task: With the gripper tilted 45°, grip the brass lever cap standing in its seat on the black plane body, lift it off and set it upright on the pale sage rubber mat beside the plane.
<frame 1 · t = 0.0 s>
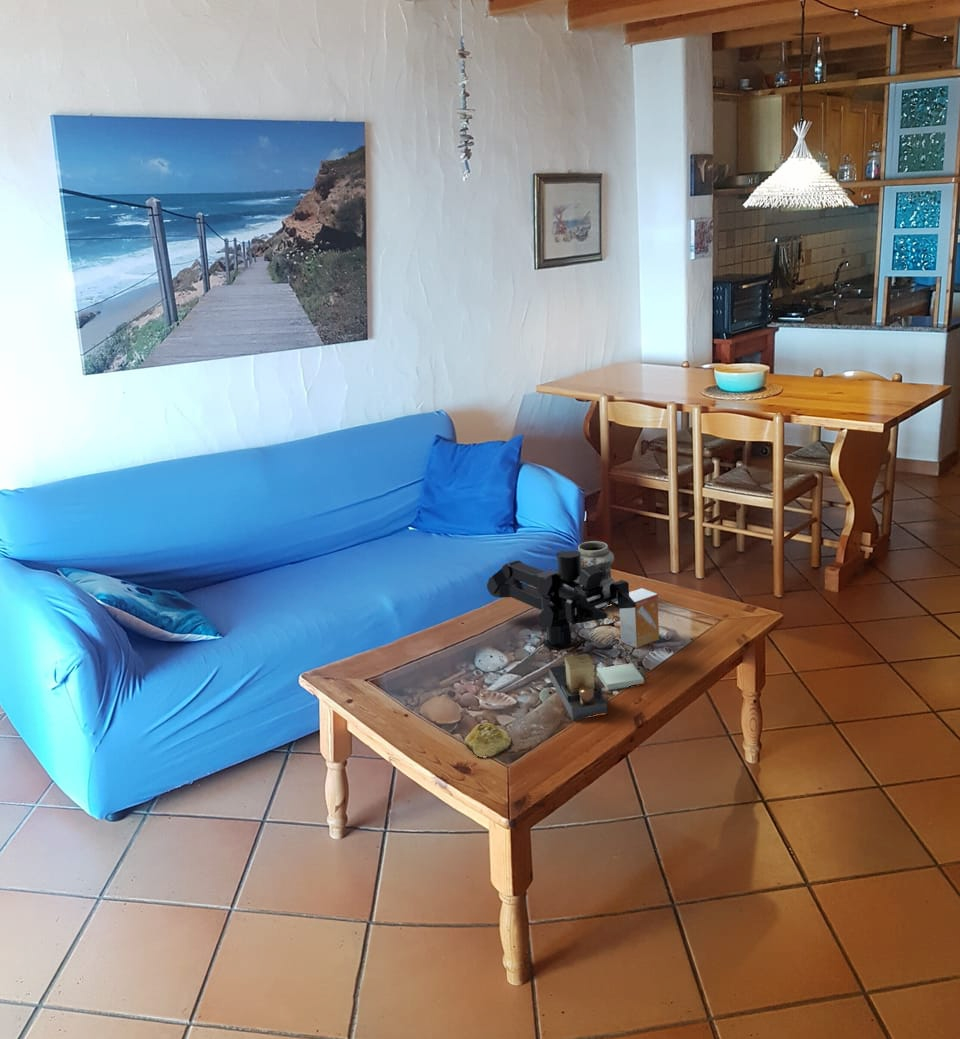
hand: (621, 610, 231), 17 cm above the table, tool horizontal, fingers open, 9 cm apart
plane body: (577, 696, 226), on the table
lever cap: (581, 691, 222), point 3 cm above the table, touching plane body
sage mat: (620, 679, 233), on the table
small box: (640, 641, 253), on the table
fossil: (488, 746, 209), on the table
apothecary jar: (595, 604, 280), on the table
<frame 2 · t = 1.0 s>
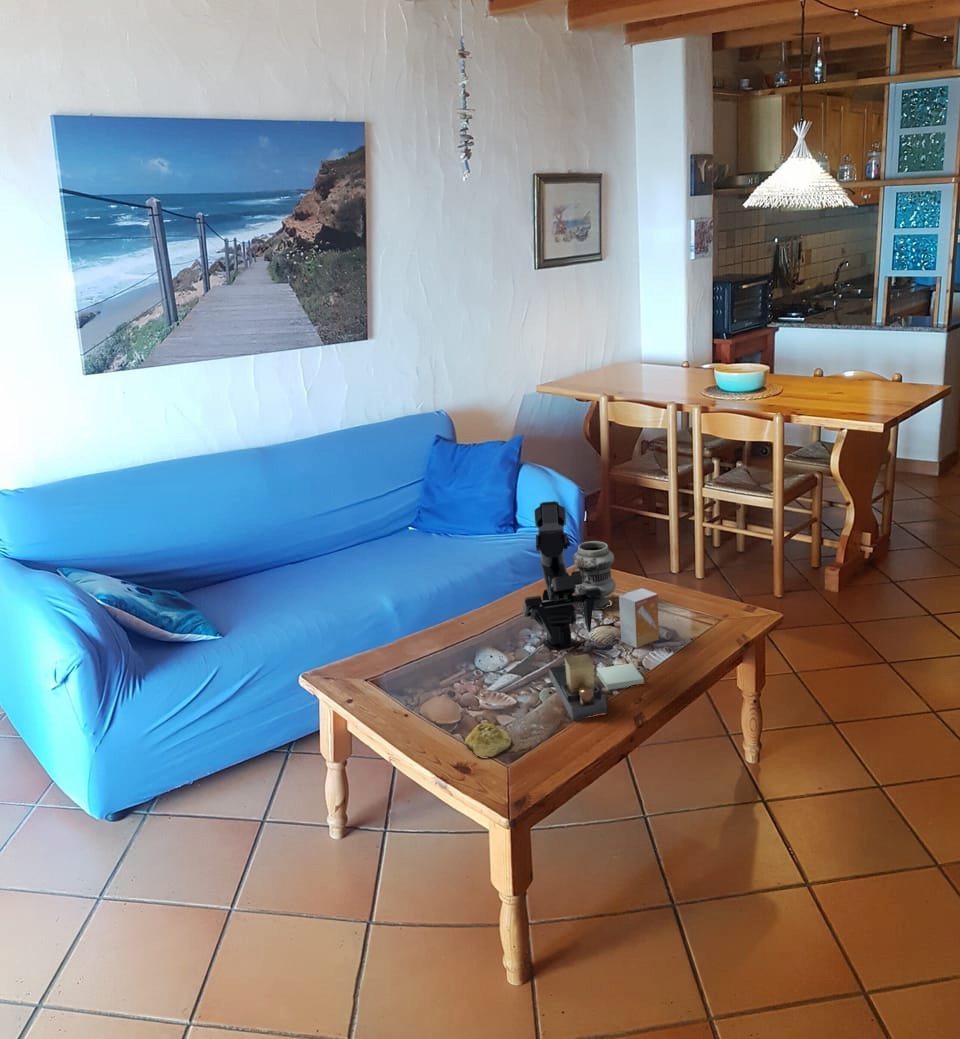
hand: (570, 634, 226), 14 cm above the table, tool tilted 45°, fingers open, 9 cm apart
nothing on the table moved.
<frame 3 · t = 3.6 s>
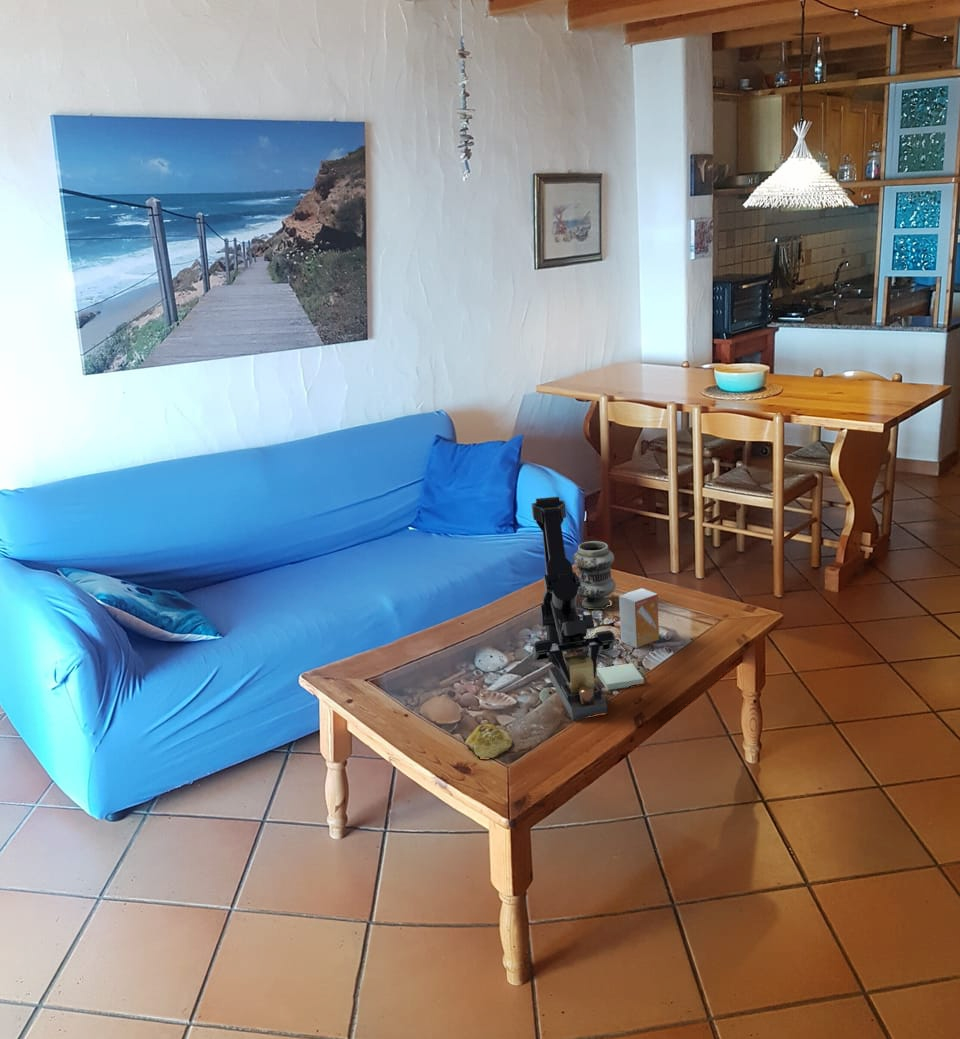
hand: (581, 680, 219), 7 cm above the table, tool tilted 45°, fingers closed on lever cap, 5 cm apart
lever cap: (581, 691, 222), point 3 cm above the table, touching gripper, plane body
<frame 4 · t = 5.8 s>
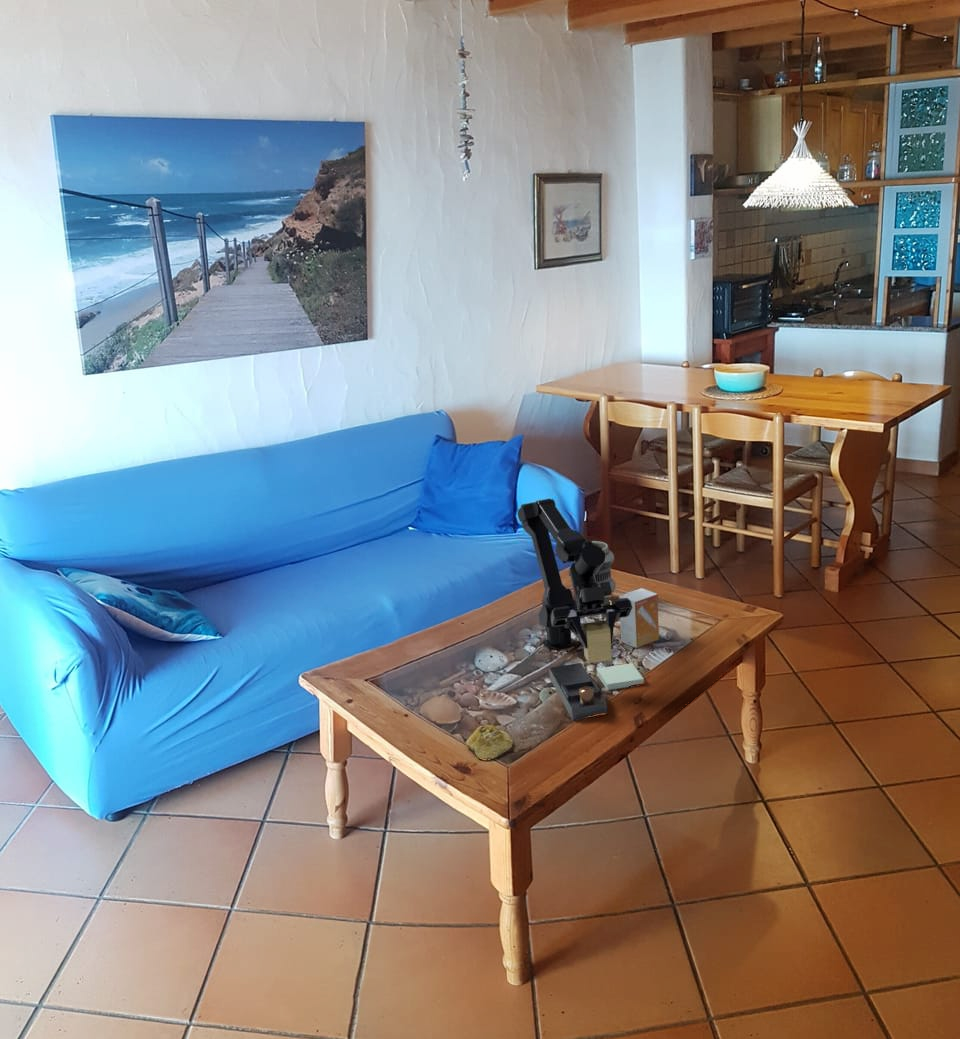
hand: (598, 646, 223), 12 cm above the table, tool tilted 45°, fingers closed on lever cap, 5 cm apart
lever cap: (598, 657, 225), point 9 cm above the table, touching gripper
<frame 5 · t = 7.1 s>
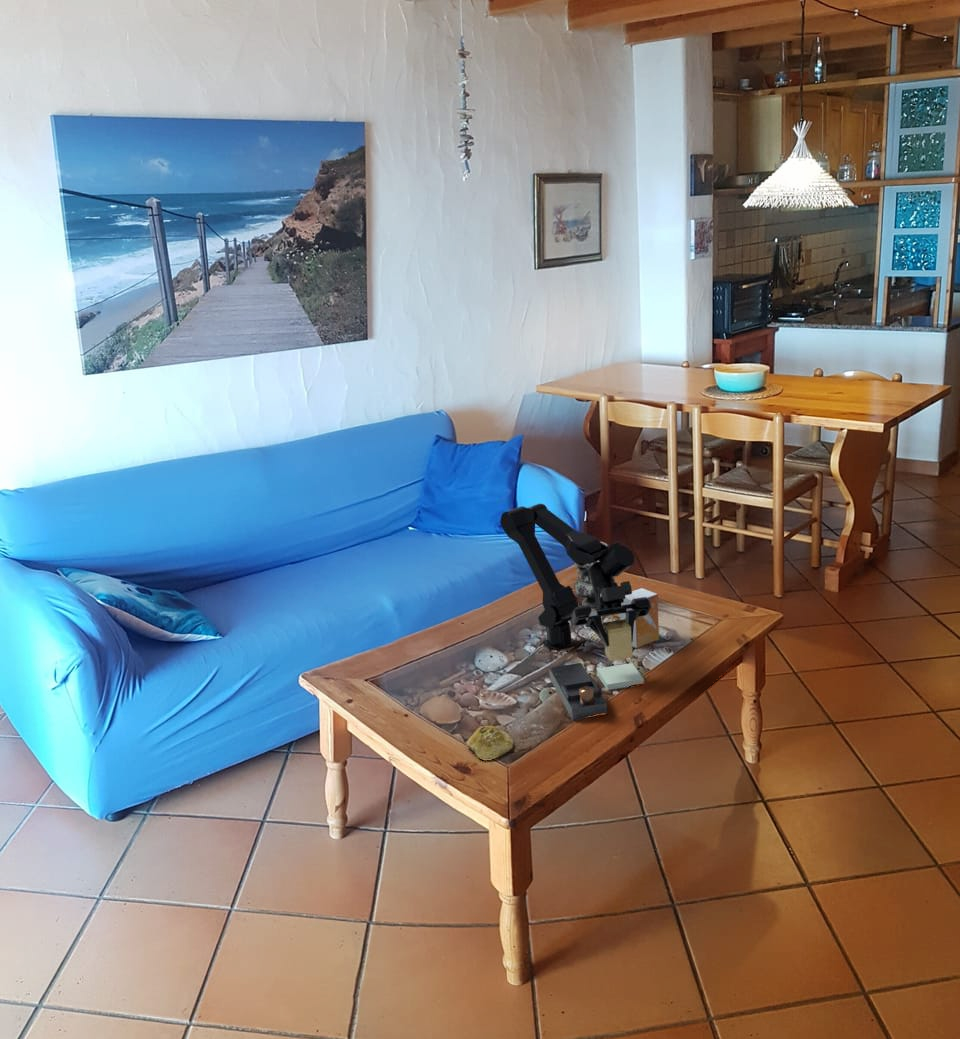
hand: (619, 644, 229), 10 cm above the table, tool tilted 45°, fingers closed on lever cap, 5 cm apart
lever cap: (618, 655, 231), point 6 cm above the table, touching gripper
when the fingers open (6 cm above the table, at t = 8.2 s): lever cap drops 1 cm, resting on sage mat.
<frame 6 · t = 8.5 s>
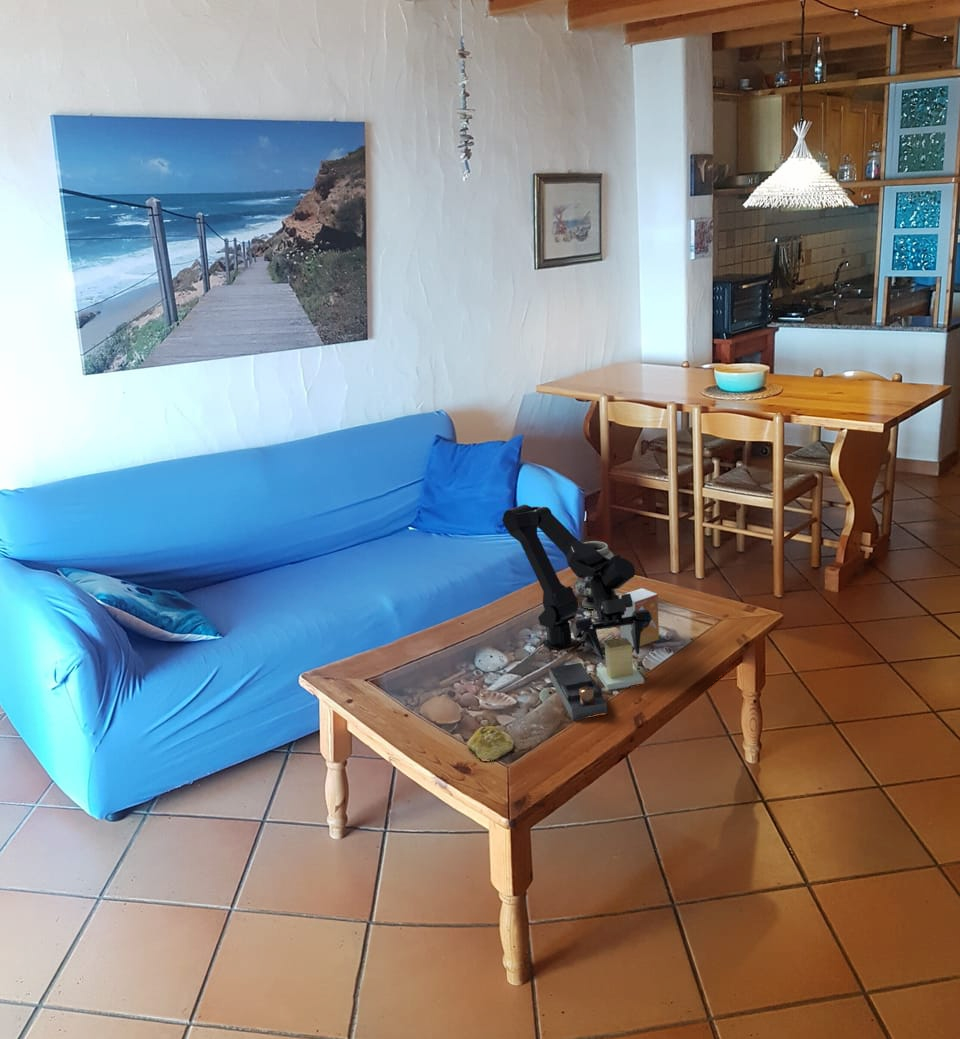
hand: (620, 656, 229), 7 cm above the table, tool tilted 45°, fingers open, 8 cm apart
lever cap: (619, 673, 232), point 1 cm above the table, touching sage mat
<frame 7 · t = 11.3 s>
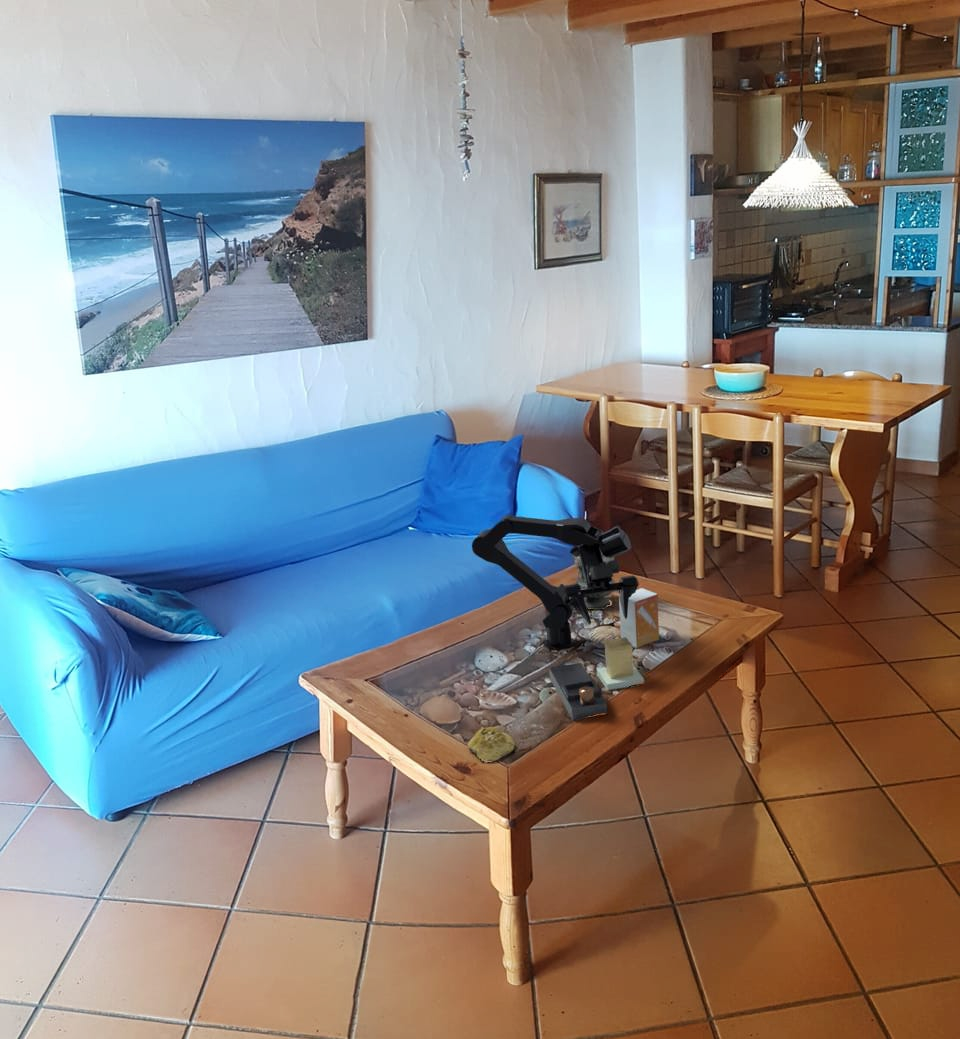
hand: (608, 620, 237), 12 cm above the table, tool tilted 45°, fingers open, 9 cm apart
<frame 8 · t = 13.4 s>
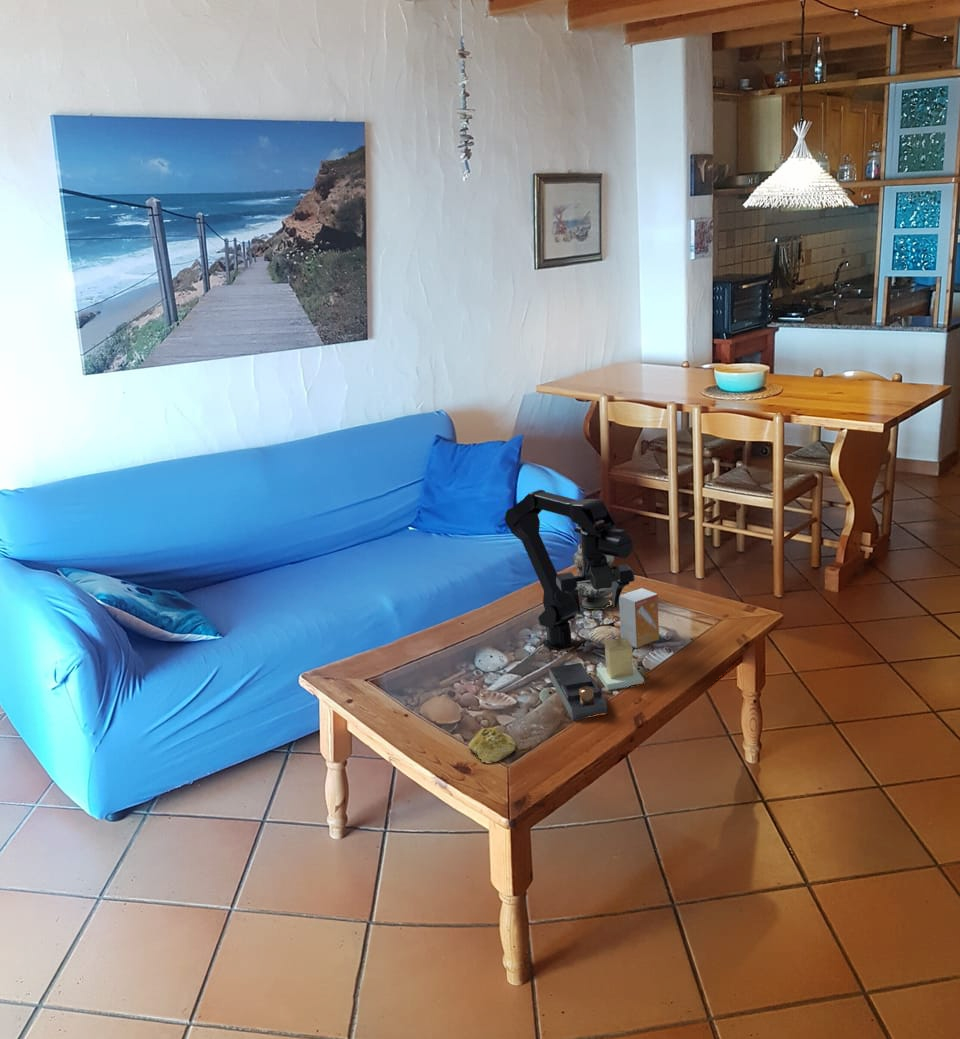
hand: (596, 609, 242), 13 cm above the table, tool pointing down, fingers open, 9 cm apart
at the end: lever cap 0.0 cm off-centre on the sage mat, point 1.5 cm above the sage mat's base; lever cap tilted 0°; lever cap touching sage mat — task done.
